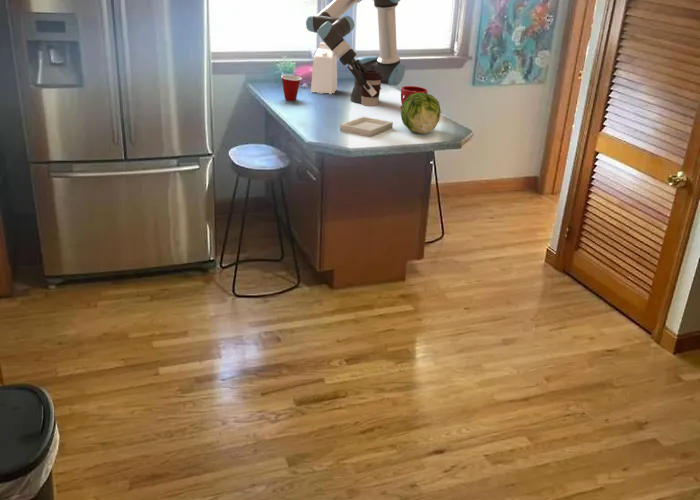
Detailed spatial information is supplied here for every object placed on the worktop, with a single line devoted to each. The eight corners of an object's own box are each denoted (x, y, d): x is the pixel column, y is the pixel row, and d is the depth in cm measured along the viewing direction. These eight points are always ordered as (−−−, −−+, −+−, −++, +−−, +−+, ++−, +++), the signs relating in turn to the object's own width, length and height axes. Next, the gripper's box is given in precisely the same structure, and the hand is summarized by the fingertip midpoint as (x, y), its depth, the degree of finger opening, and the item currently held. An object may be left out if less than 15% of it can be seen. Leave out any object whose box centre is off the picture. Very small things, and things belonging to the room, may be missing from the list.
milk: (337, 90, 408) (339, 42, 397) (331, 94, 397) (333, 45, 387) (316, 88, 410) (317, 41, 399) (310, 92, 400) (312, 43, 389)
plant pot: (403, 115, 361) (405, 91, 356) (396, 109, 372) (398, 85, 368) (428, 115, 364) (431, 91, 359) (420, 109, 375) (422, 85, 370)
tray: (362, 122, 343) (362, 116, 342) (392, 128, 336) (392, 122, 335) (340, 130, 328) (340, 124, 326) (370, 136, 320) (371, 130, 319)
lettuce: (403, 121, 315) (440, 98, 313) (388, 100, 334) (423, 77, 332) (421, 151, 326) (456, 129, 324) (405, 129, 345) (439, 108, 342)
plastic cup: (298, 102, 375) (298, 79, 370) (278, 100, 376) (278, 77, 372) (303, 98, 384) (304, 75, 380) (284, 96, 386) (284, 73, 381)
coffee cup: (383, 104, 332) (385, 71, 326) (376, 108, 323) (379, 74, 317) (362, 101, 334) (364, 68, 328) (355, 105, 326) (357, 71, 320)
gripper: (344, 55, 334) (375, 93, 337) (332, 62, 314) (365, 102, 317) (356, 44, 331) (387, 82, 334) (344, 51, 311) (378, 91, 314)
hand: (377, 92), depth 326 cm, fingers closed on coffee cup, 10 cm apart
